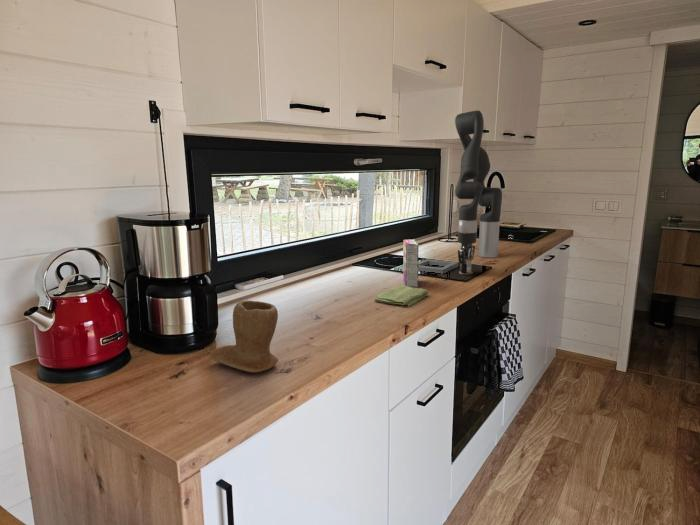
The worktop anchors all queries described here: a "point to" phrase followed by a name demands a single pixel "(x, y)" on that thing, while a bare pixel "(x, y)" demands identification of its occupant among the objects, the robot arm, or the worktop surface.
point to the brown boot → (250, 338)
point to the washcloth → (402, 295)
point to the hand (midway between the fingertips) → (465, 271)
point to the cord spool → (468, 267)
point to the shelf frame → (446, 268)
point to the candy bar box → (410, 262)
